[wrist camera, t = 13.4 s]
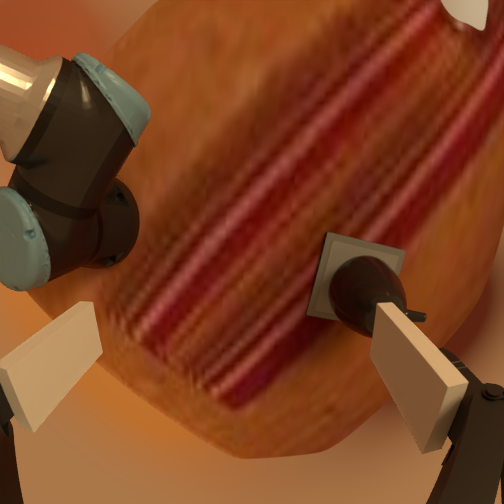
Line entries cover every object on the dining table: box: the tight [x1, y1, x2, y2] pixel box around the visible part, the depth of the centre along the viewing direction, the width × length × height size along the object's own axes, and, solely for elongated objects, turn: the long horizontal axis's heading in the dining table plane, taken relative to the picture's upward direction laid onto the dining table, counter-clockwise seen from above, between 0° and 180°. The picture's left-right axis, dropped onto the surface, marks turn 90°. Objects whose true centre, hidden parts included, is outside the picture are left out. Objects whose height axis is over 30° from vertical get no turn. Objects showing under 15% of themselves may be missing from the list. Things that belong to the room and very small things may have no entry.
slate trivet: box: [306, 232, 406, 321], centre depth 47 cm, size 13×13×1 cm
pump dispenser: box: [328, 255, 426, 338], centre depth 39 cm, size 10×10×15 cm
